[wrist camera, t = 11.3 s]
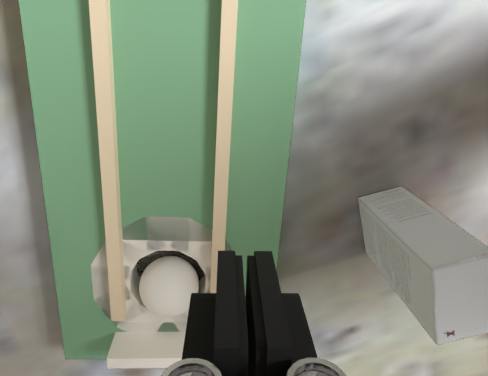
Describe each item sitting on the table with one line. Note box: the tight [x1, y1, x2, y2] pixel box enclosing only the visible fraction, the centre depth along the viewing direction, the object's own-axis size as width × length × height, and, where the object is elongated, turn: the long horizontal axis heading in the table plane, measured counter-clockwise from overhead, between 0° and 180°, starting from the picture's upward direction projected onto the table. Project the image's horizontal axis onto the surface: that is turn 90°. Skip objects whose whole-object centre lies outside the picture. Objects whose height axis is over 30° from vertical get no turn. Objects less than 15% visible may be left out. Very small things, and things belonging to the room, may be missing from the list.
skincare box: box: [358, 187, 488, 345], centre depth 28 cm, size 6×4×12 cm
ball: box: [139, 256, 199, 317], centre depth 32 cm, size 5×5×5 cm
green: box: [19, 0, 306, 369], centre depth 28 cm, size 18×32×6 cm, turn 176°
